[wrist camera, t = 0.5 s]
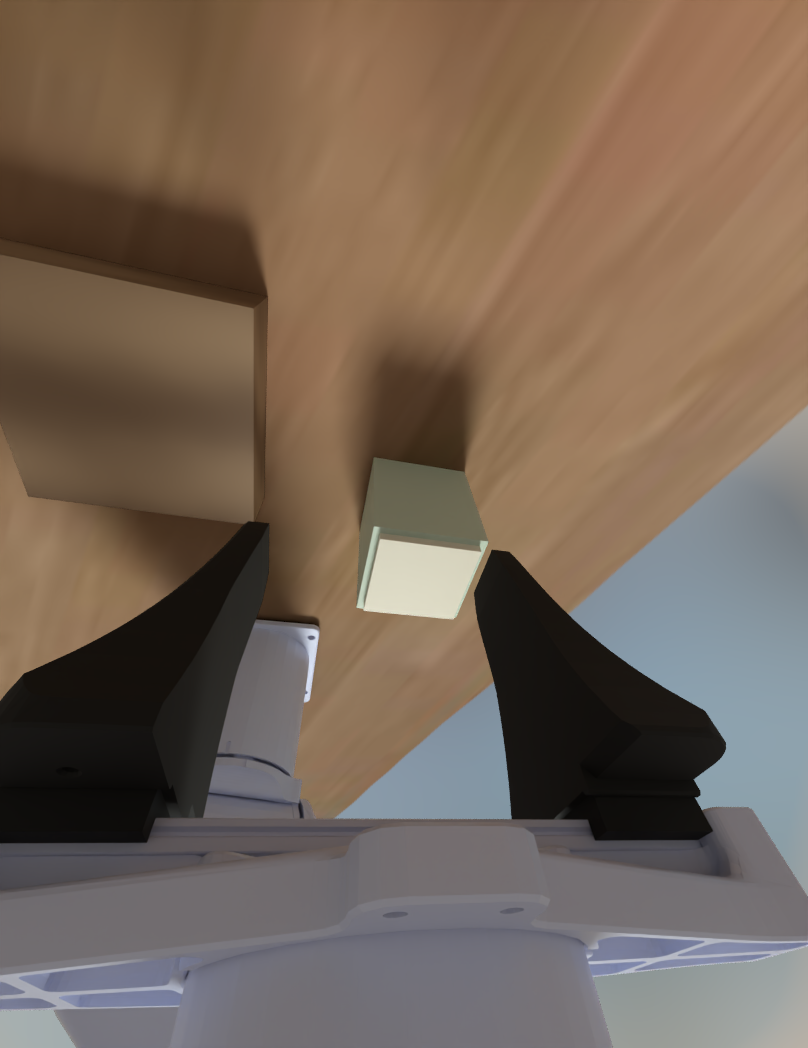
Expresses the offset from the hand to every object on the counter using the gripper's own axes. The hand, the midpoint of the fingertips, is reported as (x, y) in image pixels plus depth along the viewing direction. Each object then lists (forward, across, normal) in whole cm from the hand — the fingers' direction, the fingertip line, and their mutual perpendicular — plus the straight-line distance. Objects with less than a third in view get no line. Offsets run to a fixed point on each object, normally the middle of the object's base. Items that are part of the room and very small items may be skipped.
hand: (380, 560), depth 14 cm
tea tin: (+10, -2, +4) cm, 11 cm away
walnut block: (+10, +10, 0) cm, 15 cm away
